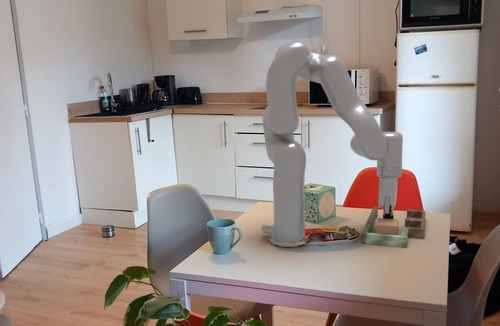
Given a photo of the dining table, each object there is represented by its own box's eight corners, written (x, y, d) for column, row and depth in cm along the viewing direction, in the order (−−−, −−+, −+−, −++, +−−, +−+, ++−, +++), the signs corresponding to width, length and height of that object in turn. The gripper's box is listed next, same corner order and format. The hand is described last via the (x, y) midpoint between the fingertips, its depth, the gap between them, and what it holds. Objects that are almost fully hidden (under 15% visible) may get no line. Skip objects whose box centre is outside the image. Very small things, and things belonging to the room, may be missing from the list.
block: (376, 240, 149) (376, 224, 148) (378, 233, 155) (378, 218, 154) (396, 242, 147) (397, 226, 146) (397, 234, 153) (398, 219, 152)
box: (361, 243, 147) (361, 233, 146) (373, 214, 174) (373, 206, 174) (422, 249, 141) (423, 239, 140) (425, 218, 168) (425, 210, 167)
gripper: (379, 166, 161) (378, 219, 164) (374, 176, 147) (373, 233, 151) (403, 167, 158) (401, 221, 162) (400, 177, 145) (398, 236, 148)
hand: (388, 227), depth 156 cm, fingers closed
